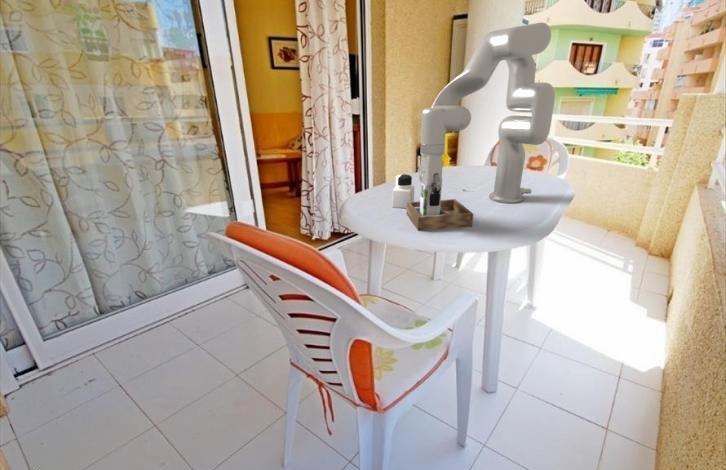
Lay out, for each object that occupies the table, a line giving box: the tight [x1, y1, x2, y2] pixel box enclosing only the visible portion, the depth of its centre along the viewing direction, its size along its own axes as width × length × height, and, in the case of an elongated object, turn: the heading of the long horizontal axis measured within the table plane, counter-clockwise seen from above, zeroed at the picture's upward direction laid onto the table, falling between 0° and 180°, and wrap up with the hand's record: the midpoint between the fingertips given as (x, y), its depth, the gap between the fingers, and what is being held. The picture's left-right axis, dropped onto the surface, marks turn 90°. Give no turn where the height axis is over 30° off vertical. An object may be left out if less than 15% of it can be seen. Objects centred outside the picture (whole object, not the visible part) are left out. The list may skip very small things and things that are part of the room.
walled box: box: [406, 198, 474, 232], centre depth 116 cm, size 18×16×4 cm
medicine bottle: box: [391, 173, 415, 209], centre depth 130 cm, size 7×7×12 cm
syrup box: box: [419, 180, 443, 216], centre depth 113 cm, size 6×6×14 cm
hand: (429, 200), depth 113 cm, fingers open, 9 cm apart
